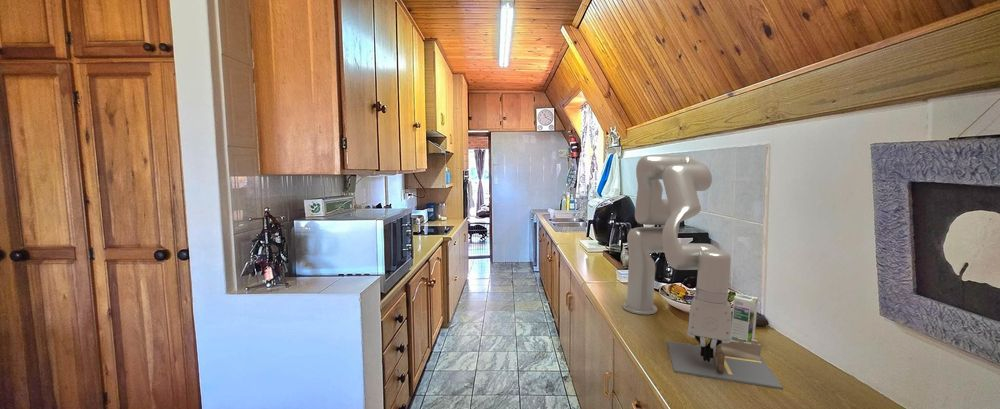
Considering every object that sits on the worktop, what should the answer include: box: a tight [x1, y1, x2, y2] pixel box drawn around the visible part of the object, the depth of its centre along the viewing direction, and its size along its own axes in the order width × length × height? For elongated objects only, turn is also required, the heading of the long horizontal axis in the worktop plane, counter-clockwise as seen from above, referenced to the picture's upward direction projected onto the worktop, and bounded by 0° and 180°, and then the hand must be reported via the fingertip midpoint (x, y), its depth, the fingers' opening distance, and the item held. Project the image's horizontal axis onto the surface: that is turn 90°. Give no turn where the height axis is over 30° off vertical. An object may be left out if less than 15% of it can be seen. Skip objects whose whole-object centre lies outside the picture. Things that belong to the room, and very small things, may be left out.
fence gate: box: [713, 344, 725, 373], centre depth 108 cm, size 11×2×5 cm, turn 158°
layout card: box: [666, 340, 784, 390], centre depth 110 cm, size 18×25×1 cm
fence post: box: [713, 338, 762, 361], centre depth 113 cm, size 2×12×7 cm, turn 73°
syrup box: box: [730, 293, 759, 343], centre depth 123 cm, size 6×6×14 cm
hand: (706, 359), depth 108 cm, fingers closed
